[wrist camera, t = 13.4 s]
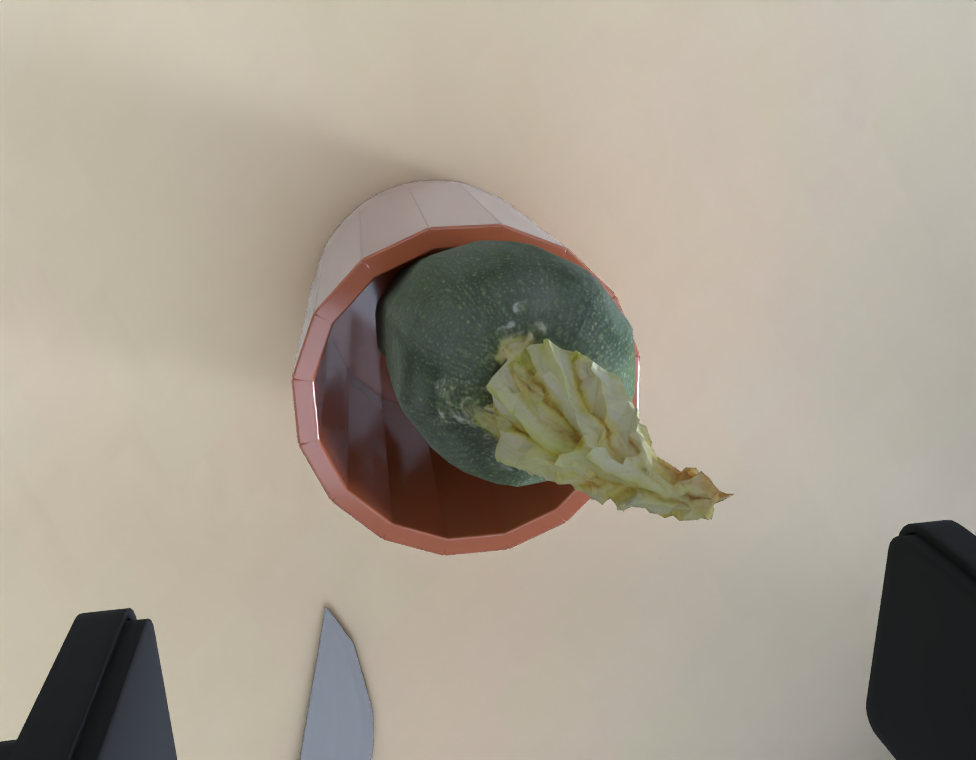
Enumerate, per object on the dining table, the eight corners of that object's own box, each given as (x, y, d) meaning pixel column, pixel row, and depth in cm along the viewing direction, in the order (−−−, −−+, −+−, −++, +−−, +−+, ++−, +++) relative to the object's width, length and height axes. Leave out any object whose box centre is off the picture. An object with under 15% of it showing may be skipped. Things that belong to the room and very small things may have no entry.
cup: (324, 422, 31) (310, 569, 22) (302, 185, 28) (276, 234, 19) (552, 405, 32) (634, 538, 23) (552, 174, 29) (644, 217, 20)
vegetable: (338, 297, 29) (343, 419, 9) (438, 210, 29) (653, 153, 9) (426, 396, 30) (597, 696, 10) (522, 313, 30) (873, 453, 10)
